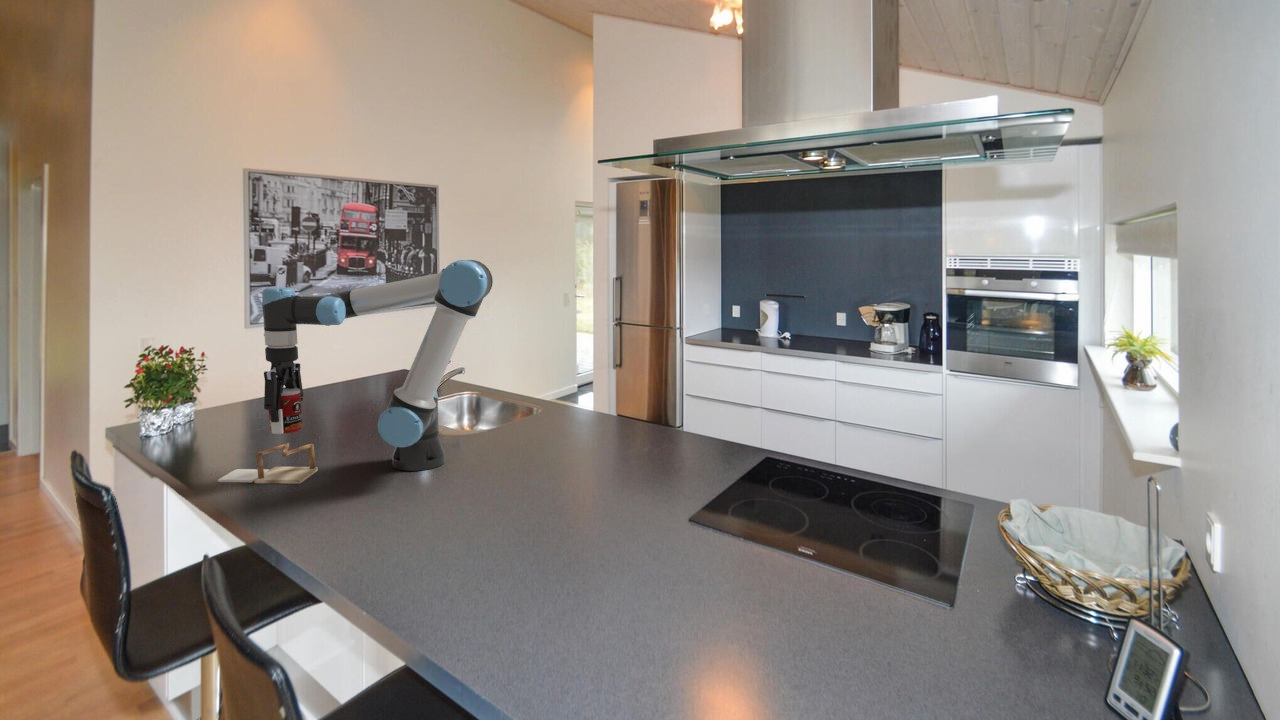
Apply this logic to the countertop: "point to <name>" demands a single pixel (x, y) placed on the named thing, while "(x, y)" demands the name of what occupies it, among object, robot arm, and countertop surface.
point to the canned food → (290, 410)
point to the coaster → (241, 475)
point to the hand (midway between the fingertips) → (286, 428)
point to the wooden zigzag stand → (285, 473)
